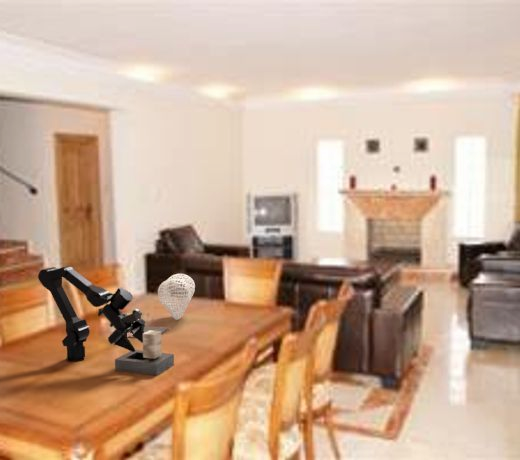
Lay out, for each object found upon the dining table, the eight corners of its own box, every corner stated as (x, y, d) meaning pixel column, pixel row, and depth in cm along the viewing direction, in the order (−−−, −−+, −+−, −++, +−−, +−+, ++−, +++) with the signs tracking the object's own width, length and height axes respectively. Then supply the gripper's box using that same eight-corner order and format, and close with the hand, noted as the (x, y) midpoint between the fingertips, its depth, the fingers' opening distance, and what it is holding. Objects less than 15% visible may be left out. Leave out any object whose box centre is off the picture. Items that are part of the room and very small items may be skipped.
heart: (169, 312, 312) (168, 271, 310) (197, 313, 311) (197, 271, 309) (155, 326, 285) (154, 281, 282) (186, 327, 283) (185, 281, 281)
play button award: (155, 336, 263) (114, 334, 268) (155, 340, 264) (114, 337, 268) (168, 327, 279) (130, 325, 284) (169, 330, 279) (130, 328, 284)
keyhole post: (141, 367, 222) (140, 333, 221) (150, 362, 228) (149, 329, 226) (155, 369, 220) (154, 335, 219) (163, 364, 226) (162, 331, 224)
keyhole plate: (115, 370, 222) (114, 359, 222) (133, 359, 234) (133, 349, 234) (157, 375, 216) (156, 364, 216) (173, 364, 228) (173, 354, 228)
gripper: (114, 309, 216) (140, 341, 214) (141, 298, 234) (165, 328, 231) (96, 328, 220) (122, 360, 217) (124, 316, 237) (148, 346, 235)
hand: (140, 347), depth 225 cm, fingers open, 9 cm apart
